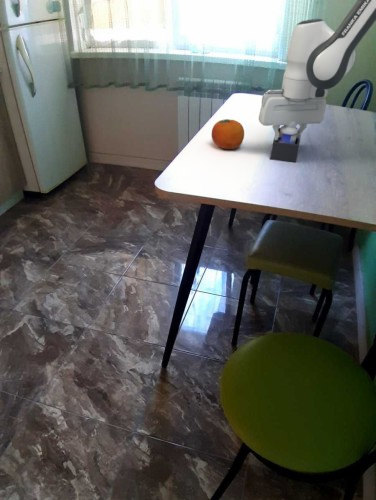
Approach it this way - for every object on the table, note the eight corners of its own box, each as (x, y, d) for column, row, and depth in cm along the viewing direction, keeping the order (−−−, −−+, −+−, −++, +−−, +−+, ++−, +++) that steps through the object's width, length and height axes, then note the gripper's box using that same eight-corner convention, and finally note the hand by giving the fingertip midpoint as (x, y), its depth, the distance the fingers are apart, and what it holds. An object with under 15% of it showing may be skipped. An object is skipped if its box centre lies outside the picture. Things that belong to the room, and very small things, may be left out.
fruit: (246, 145, 138) (249, 119, 133) (237, 155, 131) (240, 128, 126) (216, 139, 141) (218, 114, 135) (206, 149, 134) (208, 122, 128)
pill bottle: (272, 151, 131) (278, 118, 124) (283, 148, 134) (289, 116, 127) (285, 157, 128) (292, 123, 122) (296, 153, 131) (303, 120, 124)
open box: (297, 146, 139) (301, 130, 136) (295, 162, 128) (299, 145, 125) (273, 143, 141) (276, 127, 137) (269, 159, 130) (272, 142, 126)
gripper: (267, 92, 114) (260, 144, 124) (333, 90, 119) (320, 141, 128) (259, 86, 119) (252, 137, 128) (322, 85, 123) (311, 134, 133)
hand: (287, 139), depth 128 cm, fingers closed on pill bottle, 5 cm apart
